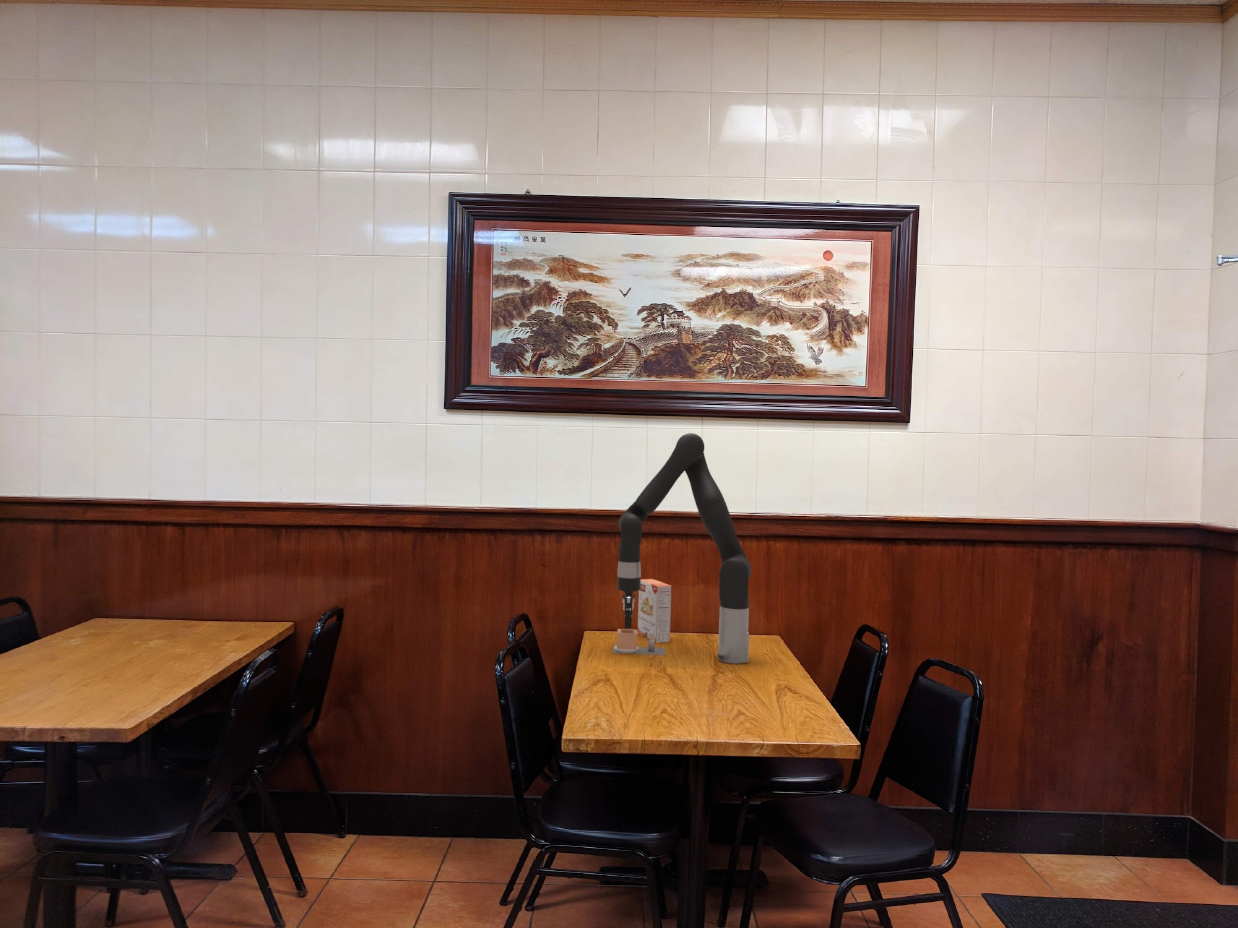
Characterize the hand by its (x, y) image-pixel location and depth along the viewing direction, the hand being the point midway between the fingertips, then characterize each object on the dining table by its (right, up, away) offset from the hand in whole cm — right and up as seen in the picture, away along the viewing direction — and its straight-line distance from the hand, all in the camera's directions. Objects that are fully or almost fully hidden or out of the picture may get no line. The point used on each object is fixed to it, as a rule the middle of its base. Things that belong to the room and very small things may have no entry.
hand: (628, 625), depth 263 cm
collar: (0, -7, 0) cm, 7 cm away
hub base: (+3, -10, 0) cm, 10 cm away
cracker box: (+9, -10, +19) cm, 23 cm away
